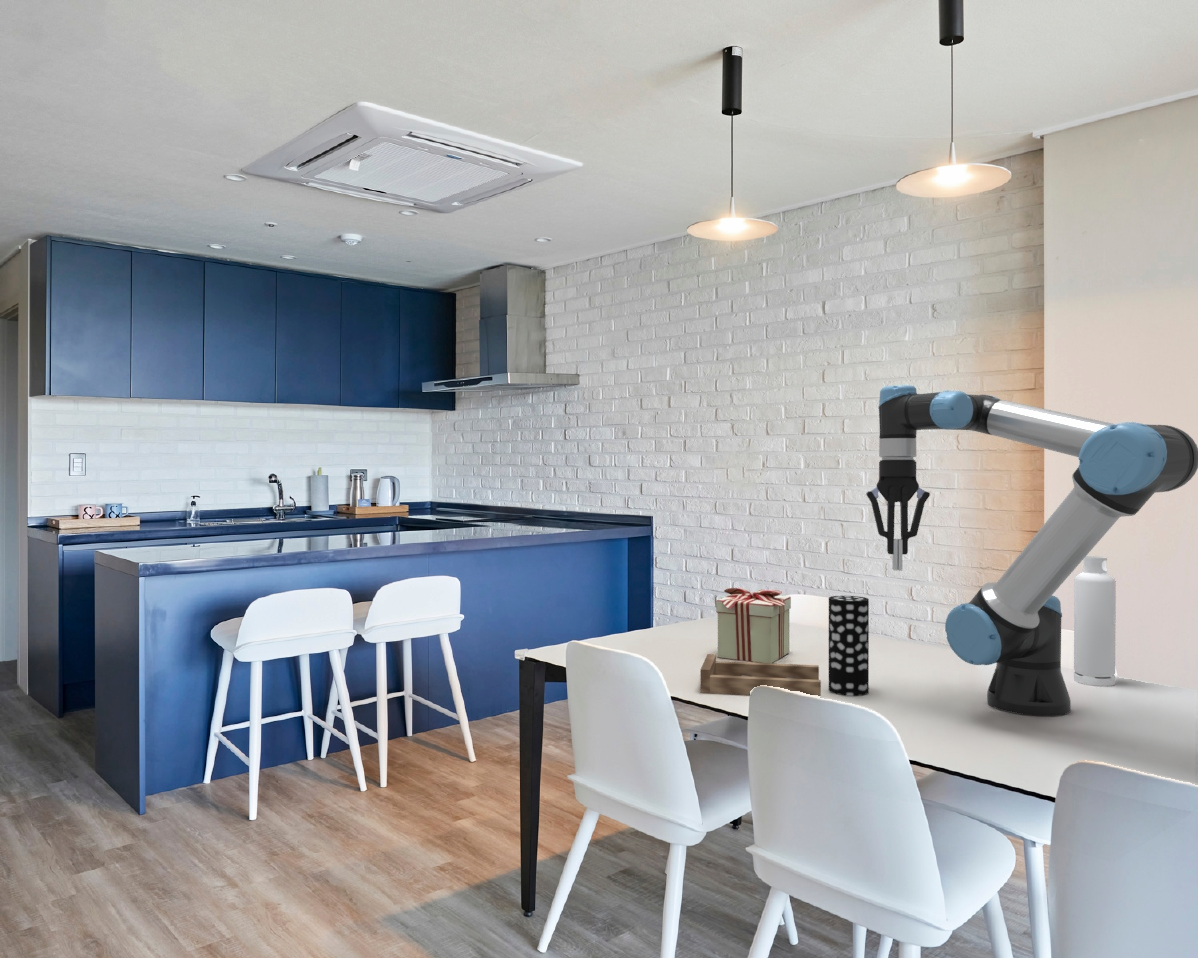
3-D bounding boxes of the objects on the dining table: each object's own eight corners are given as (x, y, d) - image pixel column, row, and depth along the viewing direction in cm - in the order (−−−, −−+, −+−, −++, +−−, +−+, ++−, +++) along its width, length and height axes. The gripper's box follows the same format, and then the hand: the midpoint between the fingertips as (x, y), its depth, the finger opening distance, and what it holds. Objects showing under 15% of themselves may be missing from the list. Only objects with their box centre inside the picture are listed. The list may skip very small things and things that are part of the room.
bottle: (1080, 675, 205) (1081, 554, 204) (1120, 681, 199) (1120, 556, 199) (1068, 681, 199) (1069, 557, 199) (1108, 688, 193) (1109, 559, 193)
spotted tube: (870, 696, 187) (870, 601, 186) (829, 694, 188) (829, 600, 188) (866, 687, 195) (866, 596, 194) (827, 685, 196) (827, 595, 196)
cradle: (818, 680, 201) (818, 658, 200) (820, 698, 185) (820, 674, 185) (707, 675, 206) (707, 653, 206) (700, 692, 190) (700, 669, 190)
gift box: (711, 661, 221) (711, 592, 221) (733, 647, 238) (733, 583, 238) (778, 667, 214) (778, 596, 214) (796, 653, 231) (796, 587, 230)
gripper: (927, 458, 191) (927, 568, 191) (863, 459, 194) (863, 567, 194) (933, 458, 184) (933, 572, 184) (866, 458, 186) (866, 571, 187)
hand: (897, 569), depth 189 cm, fingers closed
